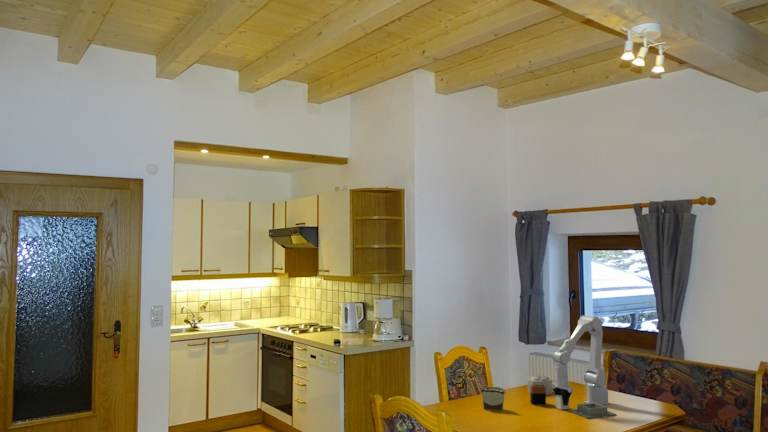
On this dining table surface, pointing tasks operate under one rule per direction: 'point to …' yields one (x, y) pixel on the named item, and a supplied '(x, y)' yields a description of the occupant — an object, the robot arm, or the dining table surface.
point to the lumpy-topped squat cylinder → (543, 379)
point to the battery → (538, 394)
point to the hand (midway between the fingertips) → (562, 404)
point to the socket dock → (592, 410)
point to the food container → (493, 398)
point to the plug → (561, 403)
